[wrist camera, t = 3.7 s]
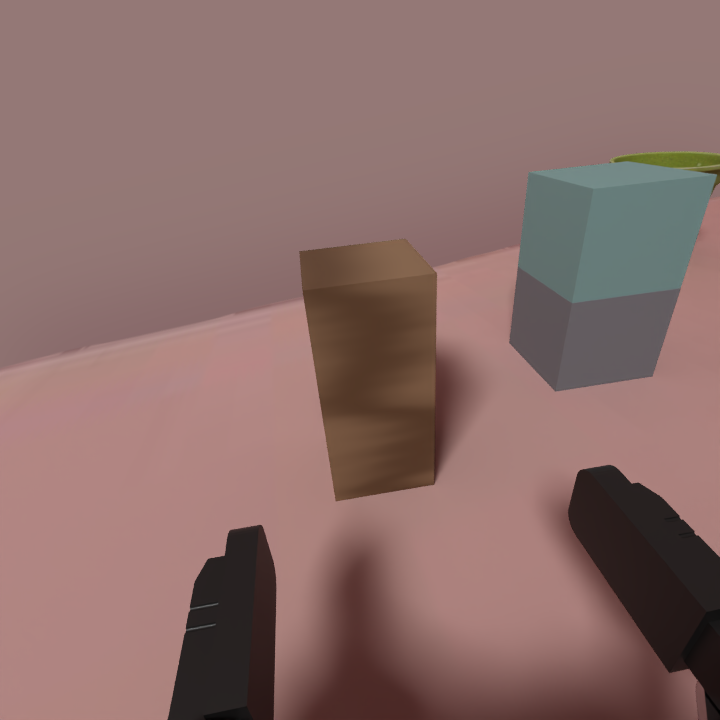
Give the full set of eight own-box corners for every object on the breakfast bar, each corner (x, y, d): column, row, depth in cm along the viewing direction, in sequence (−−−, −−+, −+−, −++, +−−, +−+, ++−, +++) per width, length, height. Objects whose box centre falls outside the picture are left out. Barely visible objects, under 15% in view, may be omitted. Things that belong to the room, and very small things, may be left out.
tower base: (590, 331, 30) (607, 255, 27) (652, 376, 25) (680, 288, 22) (509, 343, 30) (518, 266, 27) (555, 391, 25) (572, 303, 22)
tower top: (607, 254, 28) (627, 161, 25) (680, 288, 22) (717, 174, 20) (517, 266, 27) (528, 172, 24) (572, 303, 22) (593, 188, 19)
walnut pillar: (410, 422, 23) (405, 238, 18) (433, 484, 19) (436, 273, 14) (327, 435, 23) (299, 251, 18) (335, 500, 19) (302, 290, 14)
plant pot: (727, 257, 40) (764, 155, 36) (653, 277, 37) (683, 170, 33) (637, 235, 48) (659, 149, 43) (570, 251, 45) (586, 160, 41)
